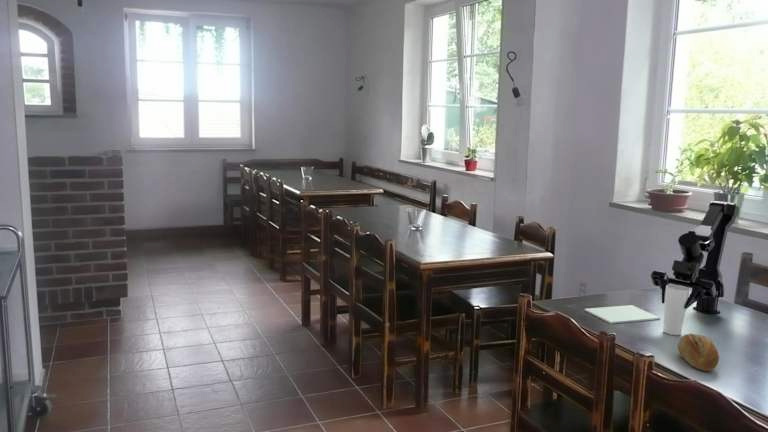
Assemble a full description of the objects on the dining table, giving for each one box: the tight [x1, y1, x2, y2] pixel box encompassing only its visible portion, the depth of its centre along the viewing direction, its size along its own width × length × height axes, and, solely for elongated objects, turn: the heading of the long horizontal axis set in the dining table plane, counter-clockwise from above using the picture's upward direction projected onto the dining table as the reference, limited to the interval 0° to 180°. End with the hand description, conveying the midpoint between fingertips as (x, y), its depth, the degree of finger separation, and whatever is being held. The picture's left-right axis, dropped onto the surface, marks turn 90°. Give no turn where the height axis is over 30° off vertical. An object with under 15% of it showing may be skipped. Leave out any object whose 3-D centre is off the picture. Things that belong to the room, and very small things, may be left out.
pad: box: [583, 304, 661, 325], centre depth 222 cm, size 20×14×1 cm
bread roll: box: [677, 333, 720, 372], centre depth 181 cm, size 10×15×8 cm, turn 176°
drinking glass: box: [662, 284, 690, 336], centre depth 205 cm, size 7×7×15 cm
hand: (673, 305), depth 204 cm, fingers closed on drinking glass, 7 cm apart
